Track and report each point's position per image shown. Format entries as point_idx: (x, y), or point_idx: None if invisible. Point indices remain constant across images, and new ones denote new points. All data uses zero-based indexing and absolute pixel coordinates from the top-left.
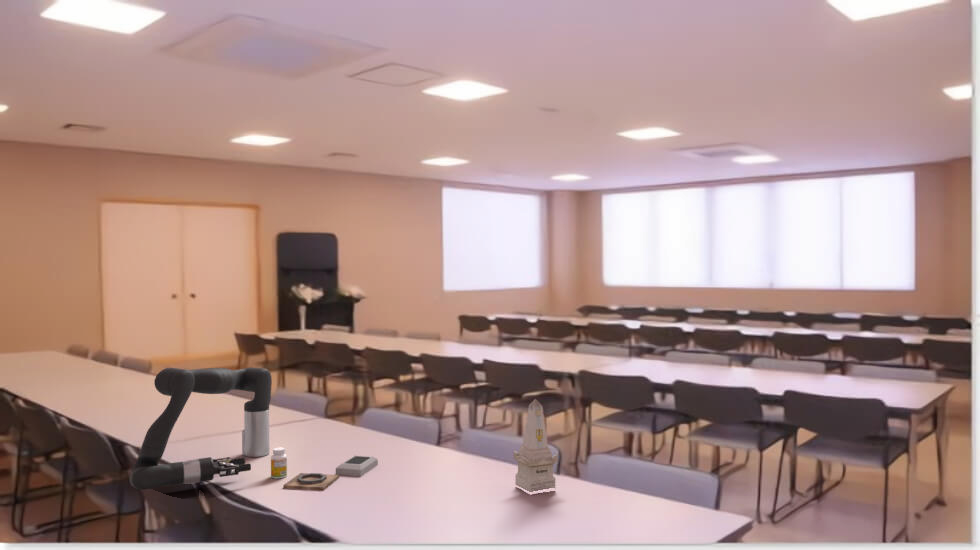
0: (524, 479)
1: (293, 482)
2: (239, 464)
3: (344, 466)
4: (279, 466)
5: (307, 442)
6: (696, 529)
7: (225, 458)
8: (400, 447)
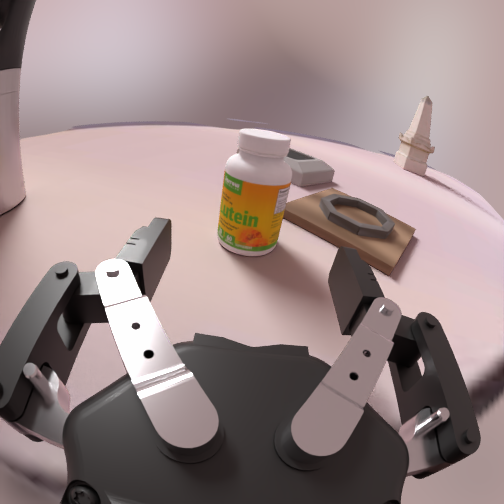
0: (419, 163)
1: (370, 244)
2: (160, 277)
3: (309, 167)
4: (285, 205)
5: (51, 155)
6: (467, 187)
7: (59, 295)
8: (200, 132)
